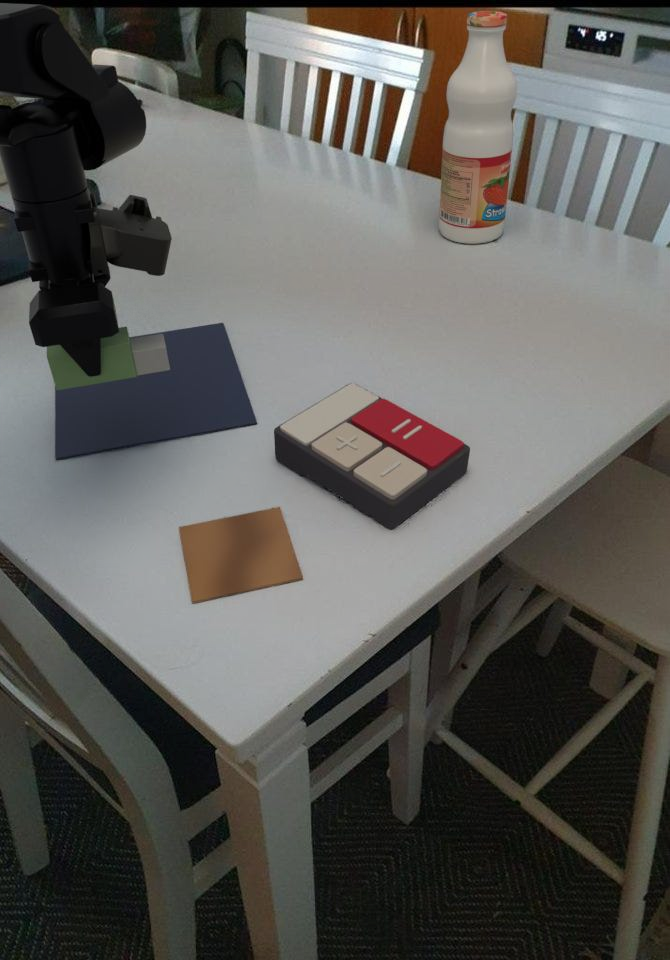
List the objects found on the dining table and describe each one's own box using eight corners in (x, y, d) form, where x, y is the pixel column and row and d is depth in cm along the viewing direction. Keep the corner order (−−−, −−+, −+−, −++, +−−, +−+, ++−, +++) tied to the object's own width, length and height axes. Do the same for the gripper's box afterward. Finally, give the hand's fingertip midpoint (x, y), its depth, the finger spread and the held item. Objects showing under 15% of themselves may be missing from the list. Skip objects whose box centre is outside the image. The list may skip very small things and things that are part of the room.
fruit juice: (443, 217, 123) (455, 6, 105) (506, 222, 121) (529, 7, 103) (433, 242, 116) (443, 21, 98) (499, 247, 114) (522, 22, 96)
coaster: (192, 603, 64) (191, 601, 64) (179, 529, 71) (178, 526, 70) (303, 579, 66) (302, 577, 65) (280, 509, 72) (279, 506, 72)
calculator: (393, 500, 67) (271, 422, 75) (391, 536, 70) (273, 458, 78) (473, 440, 73) (352, 374, 81) (468, 476, 76) (351, 409, 84)
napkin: (55, 460, 79) (55, 458, 79) (55, 350, 95) (55, 348, 95) (257, 424, 83) (256, 421, 82) (223, 324, 99) (223, 322, 99)
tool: (56, 390, 71) (46, 356, 69) (56, 372, 73) (46, 338, 71) (170, 371, 73) (164, 337, 71) (166, 354, 75) (160, 320, 73)
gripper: (168, 219, 57) (198, 405, 67) (144, 143, 71) (172, 306, 81) (3, 241, 55) (59, 429, 65) (12, 158, 69) (57, 323, 79)
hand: (93, 365), depth 72 cm, fingers closed on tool, 3 cm apart
